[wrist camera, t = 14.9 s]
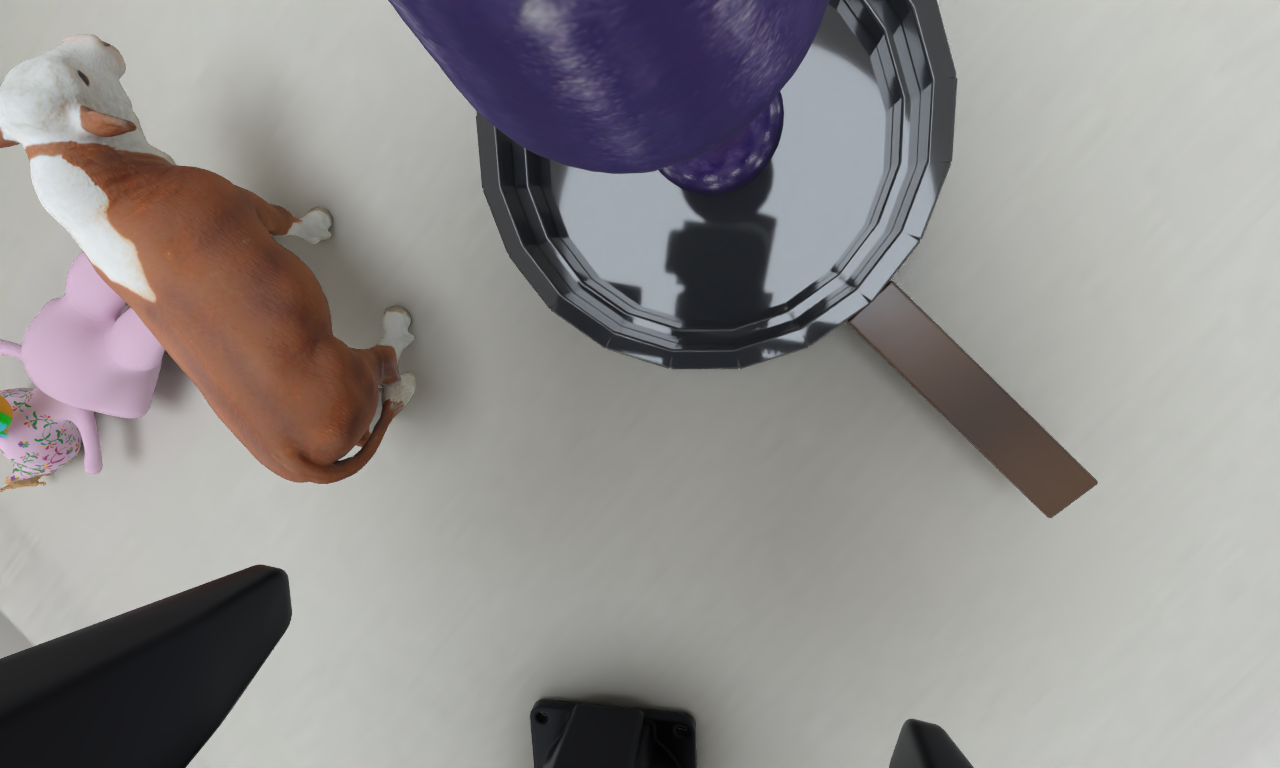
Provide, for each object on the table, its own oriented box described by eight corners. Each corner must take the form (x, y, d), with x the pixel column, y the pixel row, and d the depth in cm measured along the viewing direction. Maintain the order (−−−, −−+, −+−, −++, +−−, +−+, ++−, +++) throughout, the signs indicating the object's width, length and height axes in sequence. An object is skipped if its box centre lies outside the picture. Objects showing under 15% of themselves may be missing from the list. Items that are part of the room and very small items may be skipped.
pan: (914, 351, 20) (939, 369, 17) (528, 354, 22) (497, 370, 20) (940, -112, 17) (974, -177, 15) (497, -55, 20) (456, -102, 17)
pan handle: (842, 318, 19) (846, 322, 18) (884, 277, 18) (892, 280, 17) (1035, 505, 19) (1050, 520, 18) (1082, 470, 18) (1100, 483, 17)
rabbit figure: (108, 495, 29) (285, 322, 22) (-64, 570, 23) (106, 370, 17) (20, 381, 28) (175, 172, 22) (-177, 431, 23) (-46, 171, 17)
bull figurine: (267, 67, 22) (-8, -31, 14) (474, 403, 23) (330, 487, 15) (183, 139, 23) (-116, 86, 15) (385, 455, 24) (208, 558, 16)
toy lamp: (800, 193, 19) (1028, -50, 3) (651, 231, 20) (250, 198, 4) (767, 25, 18) (850, -1478, 2) (615, 74, 19) (-68, -728, 3)
